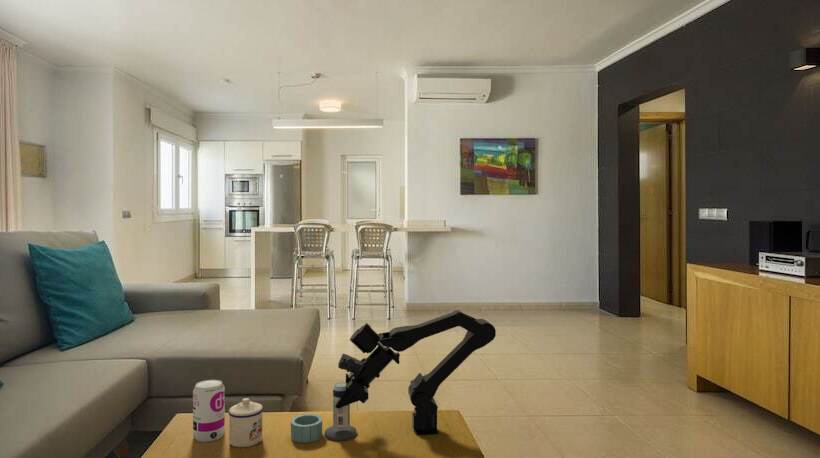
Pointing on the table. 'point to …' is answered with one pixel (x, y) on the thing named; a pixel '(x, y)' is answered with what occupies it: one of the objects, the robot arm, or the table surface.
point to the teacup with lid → (245, 423)
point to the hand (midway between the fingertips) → (336, 404)
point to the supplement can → (208, 410)
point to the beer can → (342, 414)
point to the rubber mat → (340, 433)
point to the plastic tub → (306, 428)
